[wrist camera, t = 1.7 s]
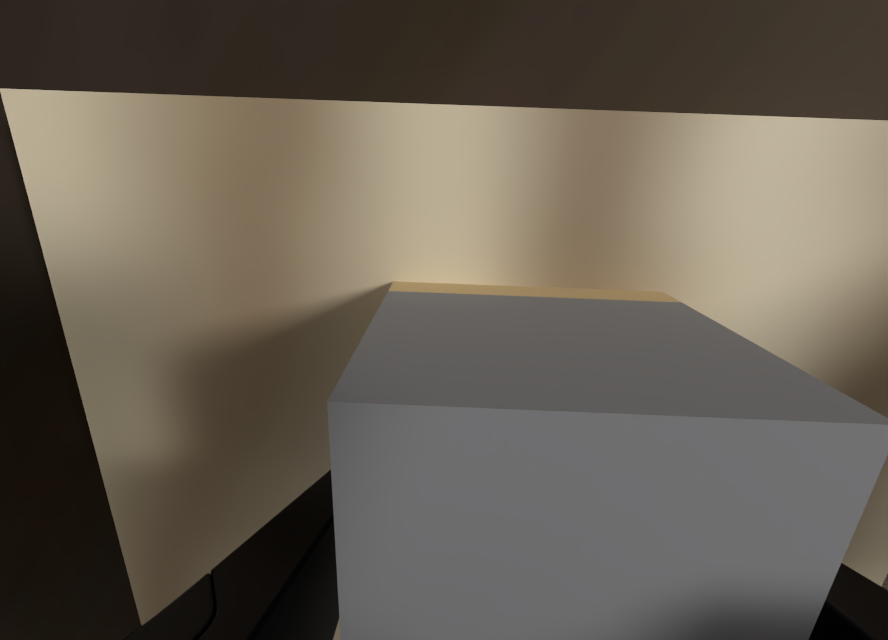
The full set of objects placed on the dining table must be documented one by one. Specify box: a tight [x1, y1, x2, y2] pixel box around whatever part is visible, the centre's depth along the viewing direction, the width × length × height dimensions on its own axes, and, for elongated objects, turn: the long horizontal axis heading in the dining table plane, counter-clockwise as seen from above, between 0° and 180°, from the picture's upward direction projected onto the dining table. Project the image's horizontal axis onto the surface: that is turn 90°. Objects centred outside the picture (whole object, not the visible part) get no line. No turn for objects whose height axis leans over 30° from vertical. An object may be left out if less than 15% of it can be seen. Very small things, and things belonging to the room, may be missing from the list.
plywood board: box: [0, 89, 888, 640], centre depth 11 cm, size 18×22×1 cm
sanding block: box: [327, 281, 888, 640], centre depth 7 cm, size 5×8×4 cm, turn 178°
